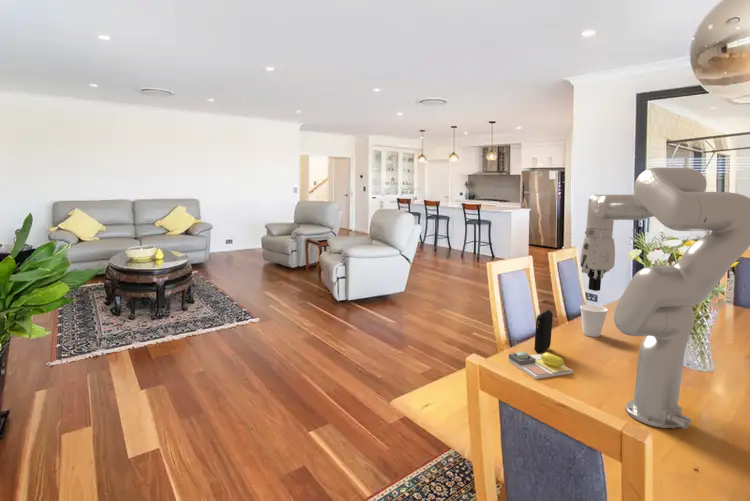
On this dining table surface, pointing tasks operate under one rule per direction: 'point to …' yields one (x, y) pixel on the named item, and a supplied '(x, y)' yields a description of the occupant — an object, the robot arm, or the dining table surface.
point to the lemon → (552, 359)
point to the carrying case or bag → (543, 331)
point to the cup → (593, 319)
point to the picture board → (538, 366)
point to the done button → (522, 355)
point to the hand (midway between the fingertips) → (594, 289)
